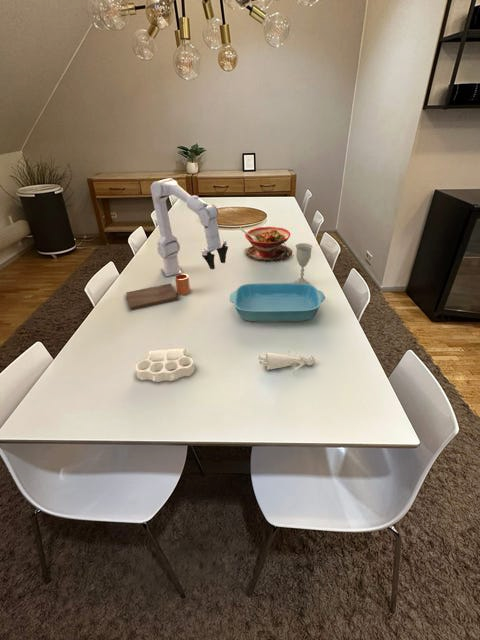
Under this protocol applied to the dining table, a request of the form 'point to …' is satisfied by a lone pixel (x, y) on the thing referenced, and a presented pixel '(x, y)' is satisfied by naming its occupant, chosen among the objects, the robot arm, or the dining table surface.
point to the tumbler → (182, 284)
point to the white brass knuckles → (165, 365)
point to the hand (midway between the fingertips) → (217, 265)
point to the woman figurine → (284, 360)
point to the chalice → (303, 258)
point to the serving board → (151, 296)
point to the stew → (268, 243)
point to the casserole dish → (277, 301)
